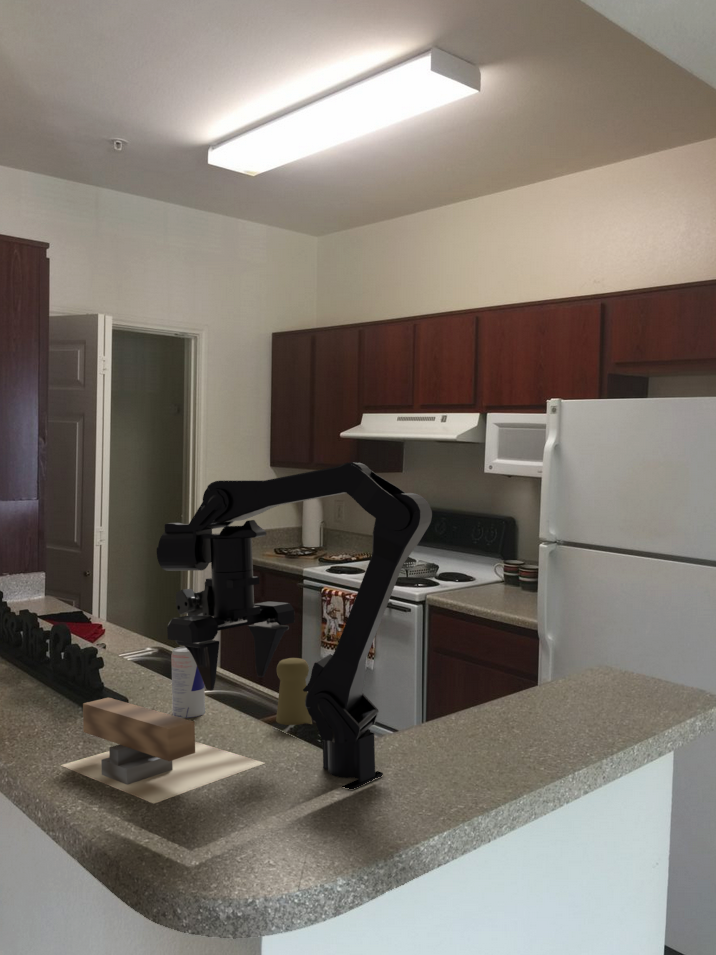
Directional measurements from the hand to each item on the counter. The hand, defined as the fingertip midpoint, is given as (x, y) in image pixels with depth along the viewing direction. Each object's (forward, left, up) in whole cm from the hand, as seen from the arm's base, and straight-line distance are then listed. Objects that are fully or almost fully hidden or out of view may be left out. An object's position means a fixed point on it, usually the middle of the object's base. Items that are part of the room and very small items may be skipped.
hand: (236, 683), depth 114 cm
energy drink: (+25, -10, -12) cm, 30 cm away
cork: (+8, -18, -12) cm, 23 cm away
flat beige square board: (+7, +8, -12) cm, 16 cm away
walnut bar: (+7, +12, -7) cm, 15 cm away
